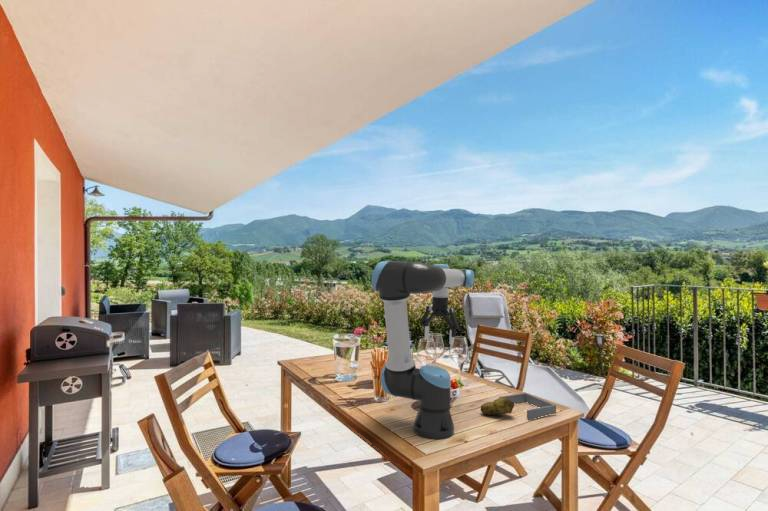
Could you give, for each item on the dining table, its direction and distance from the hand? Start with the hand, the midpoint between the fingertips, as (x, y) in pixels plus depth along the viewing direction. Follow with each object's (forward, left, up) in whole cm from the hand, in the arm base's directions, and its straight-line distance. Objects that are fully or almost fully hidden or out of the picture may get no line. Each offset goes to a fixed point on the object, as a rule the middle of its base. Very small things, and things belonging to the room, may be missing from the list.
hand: (438, 341), depth 201 cm
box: (-5, -40, -25) cm, 47 cm away
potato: (-16, -28, -26) cm, 41 cm away
